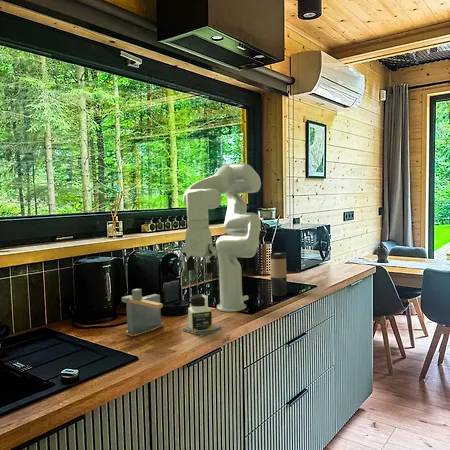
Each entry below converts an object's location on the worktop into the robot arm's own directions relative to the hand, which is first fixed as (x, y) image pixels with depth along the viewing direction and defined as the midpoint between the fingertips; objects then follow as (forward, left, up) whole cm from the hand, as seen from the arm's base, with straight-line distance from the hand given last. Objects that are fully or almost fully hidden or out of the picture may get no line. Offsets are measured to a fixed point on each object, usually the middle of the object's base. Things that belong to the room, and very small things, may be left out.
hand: (200, 271), depth 154 cm
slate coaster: (+1, 0, -21) cm, 21 cm away
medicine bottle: (+1, 0, -21) cm, 21 cm away
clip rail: (+14, -16, -21) cm, 30 cm away
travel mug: (-60, -7, -22) cm, 64 cm away
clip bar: (+20, -8, -9) cm, 24 cm away
